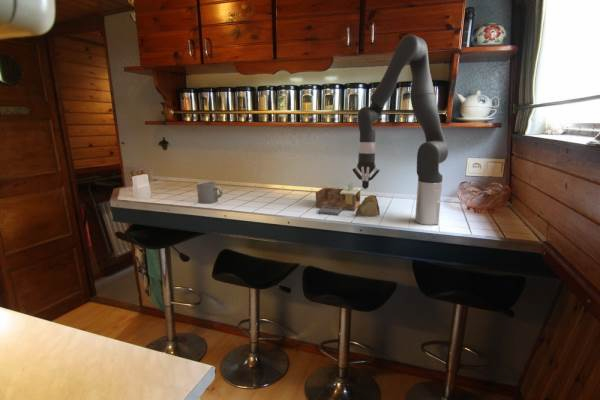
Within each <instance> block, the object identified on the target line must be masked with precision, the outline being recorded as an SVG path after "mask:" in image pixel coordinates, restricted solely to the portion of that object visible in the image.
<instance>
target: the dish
mask: <svg viewBox="0 0 600 400" xmlns="http://www.w3.org/2000/svg"><path fill="white" fill-rule="evenodd" d="M342 211H344V210H343V208H342V207H331V206H324V207H322V208H319V209H318V213H317V214H319V215H326V216H327V215H329V216H338V215H339V214H340V213H341V212H342Z"/></svg>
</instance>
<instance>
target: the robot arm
mask: <svg viewBox="0 0 600 400" xmlns="http://www.w3.org/2000/svg"><path fill="white" fill-rule="evenodd" d="M429 62H430V61H429V50H428V45H427V42H426V41H425V40H424V39H423V38H421V37H419V36H416V35H414V34H407V35H405V36H404V37H402V38H401V40H400V41H398V45H397V47H396V49H395V51H394V53H393V55H392V58H391V59H390V62H389V64H388V66H387V68H386V70H385V72H384V75H383V76H382V78H381V79H380V82H379V83H378V85H377V87H376V88H375V89H374V91H373V93H372V95H371V96H370V101H371V104H370V105H369V106H364V107H361V108H360V109H359V110H358V112H357V118H356V119H357V124H358V129H359V130H358V131H359V143H358V149H357V150H358V158H357V159H358V160H357V162H358V163H357V164H356V167H354V168H352V172H353V174H355V177H357V179H358V180H361V181H362V182H361V183H362V184H361V187H362V188H363V190H367V189H368V188H369V185H370V181H372V180H373V179H375V177H376V176H378V174H379V172H380V171H381V170H380V168H377V167H376V166H377V165H376V163H375V161H376V130H375V129H373V127H372V124H373V123H376V122H377V121H378V120H379V119H380V117H381V115H382V113H383V110H384V107H385V105H386V104H387V102H388V101H389V99H390V97H392V95H393V93H394V91H395V90H396V87H397V84H398V80H399V76H400V74H401V72H402V71H403V69H404V68H405V66H406V65H407V64H409V68H410V71H411V83H410V84H411V85H410V95H409V96H410V103H411V109H412V113H413V114H414V117H415V119H416V120H417V122H418V123H419V125H420V127H421V129H422V130H423V133H424V138H425V142H423V143H421V144H420V145H419V147H418V149H417V153H416V174H417V187H416V188H417V189H416V204H415V213H414V214H415V216H414V221H415V222H416V223H417V224H421V225H428V226H431V225H432V226H433V225H439V223H440V221H439V220H440V212H441V211H440V210H441V198H442V197H441V196H442V188H443V187H442V186H443V174H442V173H440V171H439V170H440V169H439V168H440V166H439V165H440V164H442V163H444V161H446V160H447V158H448V154H449V148H448V144H447V141H446V139H445V135H444V132H443V129H442V125H441V118H440V114H439V110H438V104H437V98H436V92H435V89H434V85H433V81H432V74H431V71H430V63H429ZM372 172H374V173H373V174H372V175H371V173H372ZM360 173H361V174H360Z"/></svg>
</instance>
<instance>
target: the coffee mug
mask: <svg viewBox="0 0 600 400" xmlns="http://www.w3.org/2000/svg"><path fill="white" fill-rule="evenodd" d="M196 188H197V189H196V190H197V201H198V202H197V203H199V204H202V205H203V204H204V205H205V204H206V205H207V204H208V205H209V204H214V203H217V202H218V201H219V200H218V199H219V198H221V197H222V196H223V188H222V187H220V186H218V185H217V181H214V180H204V181H199V182H197V183H196ZM218 191H219V194H218Z"/></svg>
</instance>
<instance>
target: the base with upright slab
mask: <svg viewBox="0 0 600 400" xmlns="http://www.w3.org/2000/svg"><path fill="white" fill-rule="evenodd" d="M131 179H132V180H131V181H132V195H133V198H134V199H145V198H146V199H147V198H150V197H151V196H152V192H151V185H150V181H149V175H148V174H146V173H143V174H137V175H134V176H131Z"/></svg>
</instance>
